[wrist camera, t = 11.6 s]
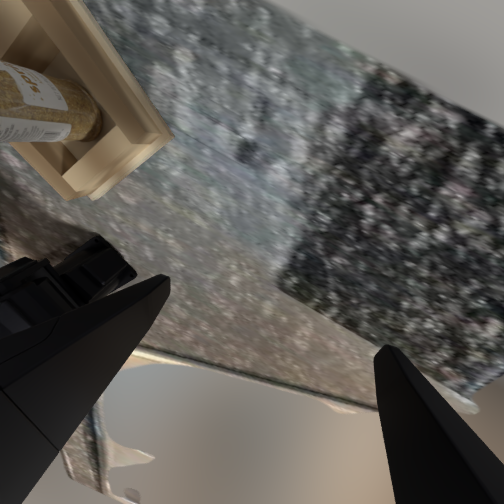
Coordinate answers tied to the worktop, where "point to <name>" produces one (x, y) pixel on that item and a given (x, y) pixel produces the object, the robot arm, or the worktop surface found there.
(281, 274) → the worktop surface
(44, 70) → the caddy
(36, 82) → the sprinkles bottle
